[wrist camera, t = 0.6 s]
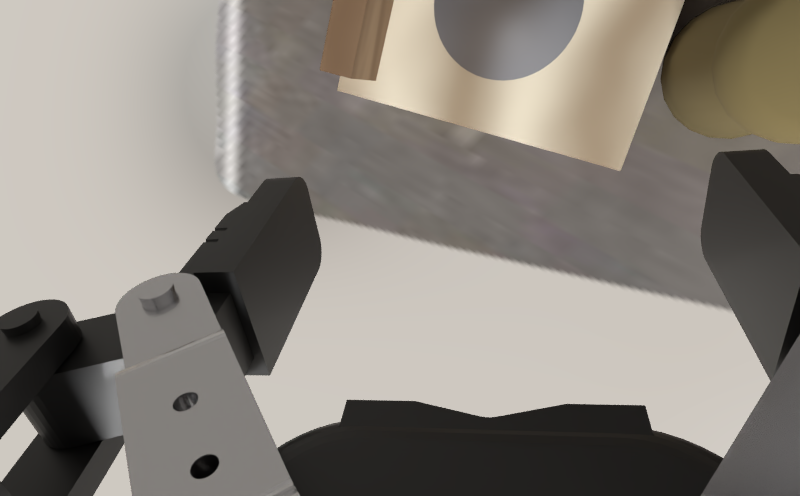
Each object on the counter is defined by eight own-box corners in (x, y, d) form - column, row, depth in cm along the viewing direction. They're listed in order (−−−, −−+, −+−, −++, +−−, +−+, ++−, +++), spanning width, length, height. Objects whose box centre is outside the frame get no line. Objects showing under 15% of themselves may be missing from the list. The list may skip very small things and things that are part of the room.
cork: (845, 42, 24) (1034, 2, 14) (747, 163, 27) (850, 202, 16) (718, -26, 25) (812, -111, 15) (633, 97, 27) (664, 95, 17)
